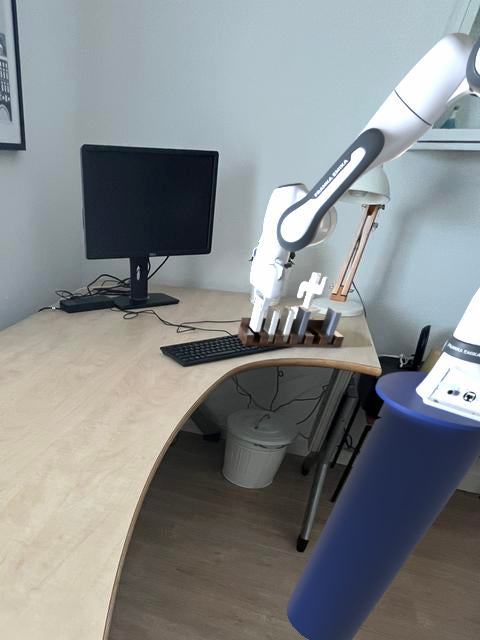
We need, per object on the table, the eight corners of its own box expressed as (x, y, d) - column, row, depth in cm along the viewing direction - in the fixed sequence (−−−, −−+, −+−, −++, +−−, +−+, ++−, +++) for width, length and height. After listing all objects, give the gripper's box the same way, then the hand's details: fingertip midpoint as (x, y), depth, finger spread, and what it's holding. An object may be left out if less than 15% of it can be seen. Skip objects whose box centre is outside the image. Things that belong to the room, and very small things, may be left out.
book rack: (340, 347, 134) (347, 328, 131) (244, 345, 134) (249, 326, 131) (328, 338, 141) (335, 319, 138) (237, 336, 141) (241, 317, 137)
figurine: (298, 314, 162) (312, 269, 152) (320, 320, 156) (335, 274, 146) (285, 316, 159) (298, 270, 149) (307, 323, 153) (322, 276, 143)
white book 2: (272, 342, 135) (280, 311, 129) (267, 342, 135) (275, 311, 129) (266, 335, 140) (274, 305, 134) (261, 335, 140) (269, 305, 134)
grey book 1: (301, 342, 135) (311, 312, 129) (296, 342, 135) (305, 311, 129) (294, 336, 140) (303, 306, 134) (289, 336, 140) (298, 306, 134)
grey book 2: (330, 343, 135) (341, 312, 129) (325, 343, 135) (336, 312, 129) (323, 336, 140) (333, 307, 134) (318, 336, 140) (328, 307, 134)
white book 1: (259, 332, 133) (267, 300, 127) (254, 331, 133) (262, 300, 127) (254, 325, 138) (262, 295, 132) (249, 325, 138) (256, 295, 132)
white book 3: (286, 342, 135) (295, 311, 129) (281, 342, 135) (290, 311, 129) (280, 336, 140) (289, 306, 134) (275, 335, 140) (284, 306, 134)
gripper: (296, 262, 114) (281, 317, 123) (272, 248, 130) (260, 298, 139) (273, 261, 114) (259, 317, 123) (252, 248, 130) (241, 298, 139)
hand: (259, 307), depth 131 cm, fingers closed on white book 1, 6 cm apart
